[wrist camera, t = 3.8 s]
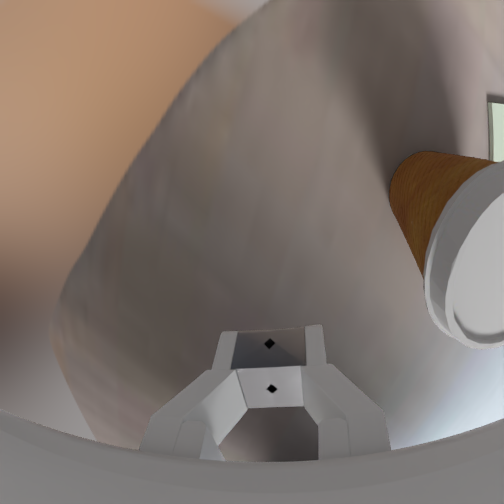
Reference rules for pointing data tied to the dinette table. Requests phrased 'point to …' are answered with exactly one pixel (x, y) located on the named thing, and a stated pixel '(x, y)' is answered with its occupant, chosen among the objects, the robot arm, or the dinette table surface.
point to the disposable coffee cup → (456, 240)
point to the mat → (496, 131)
